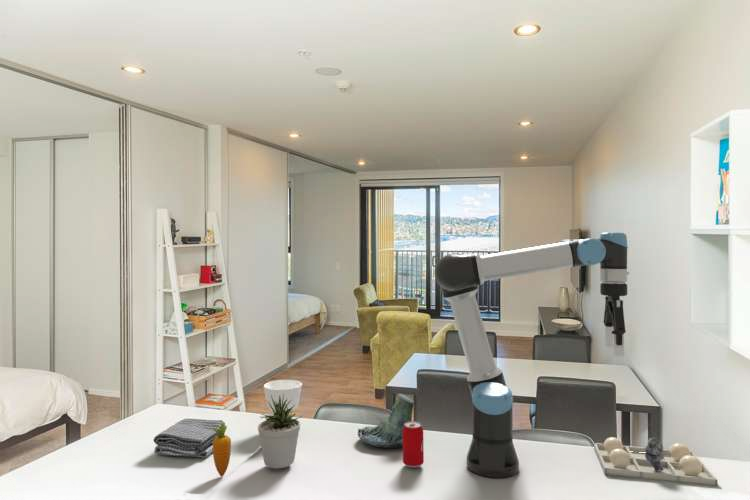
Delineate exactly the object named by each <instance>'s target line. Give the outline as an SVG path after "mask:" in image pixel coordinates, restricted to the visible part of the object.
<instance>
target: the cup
mask: <svg viewBox="0 0 750 500" xmlns="http://www.w3.org/2000/svg"><path fill="white" fill-rule="evenodd" d="M302 386H303V383H302V382H301V381H299V380H295V379H278V380H277V379H276V380H272V381H268V382H266V383H264V385H263V391H264V395H265V399H266V405H267V408H268V409H269V411H270V412H271V413H274V412H273V410H272V408H273V409H274V411H275V407H274V404H273V401H272V398H273V400H274V402H275V400H276V402H277V403H279V396H280V397H281V407H282V400H283V393H284V400H283V403H284V402H285V401H286V400H287V399H288V400H287V401H286V403H285V404H286V405H287V404H288V402H289V401H290V403H289V404H288V405H287V407H288V409H290V408H292V407H293V406H294V407H293V408H292V410H291V411H290V413H293V412H294V411H296V409H297V407H298V405H299V402H300V395H301V392H302ZM271 395H272V397H271ZM268 401H269V403H270V405H271V406H272V408H271V407H270V405H269V403H268ZM276 402H275V404H276ZM286 405H285V406H286ZM285 406H284V408H285ZM287 407H286V410H287ZM286 410H285V411H286ZM292 411H293V412H292ZM275 412H276V411H275ZM289 415H290V414H289ZM289 415H288V416H289ZM288 416H287V417H288Z"/></svg>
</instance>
